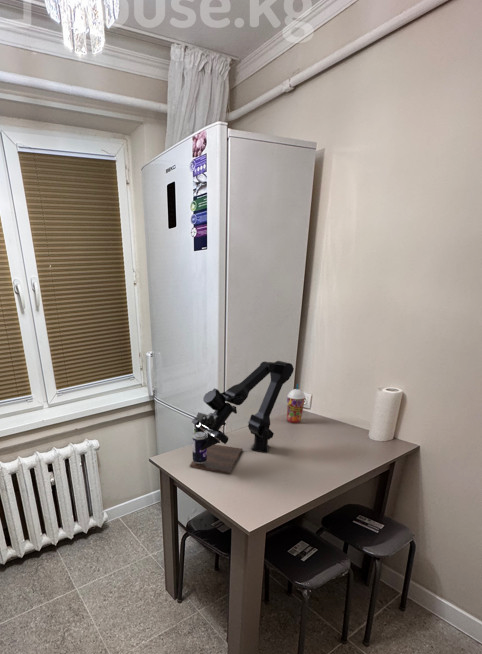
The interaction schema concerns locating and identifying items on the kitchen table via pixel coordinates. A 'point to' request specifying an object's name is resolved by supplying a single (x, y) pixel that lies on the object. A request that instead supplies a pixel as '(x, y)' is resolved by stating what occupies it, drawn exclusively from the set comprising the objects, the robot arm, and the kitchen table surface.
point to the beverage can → (197, 443)
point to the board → (219, 459)
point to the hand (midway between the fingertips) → (196, 447)
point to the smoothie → (295, 405)
